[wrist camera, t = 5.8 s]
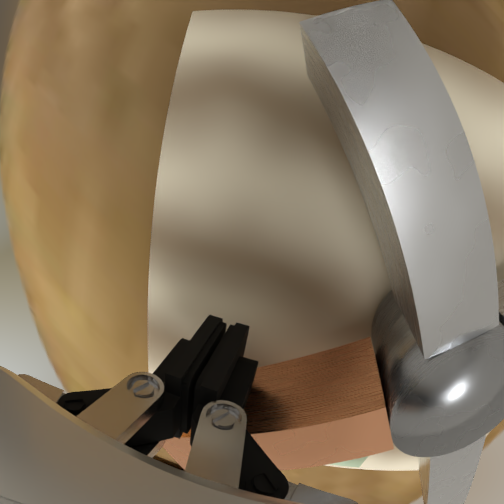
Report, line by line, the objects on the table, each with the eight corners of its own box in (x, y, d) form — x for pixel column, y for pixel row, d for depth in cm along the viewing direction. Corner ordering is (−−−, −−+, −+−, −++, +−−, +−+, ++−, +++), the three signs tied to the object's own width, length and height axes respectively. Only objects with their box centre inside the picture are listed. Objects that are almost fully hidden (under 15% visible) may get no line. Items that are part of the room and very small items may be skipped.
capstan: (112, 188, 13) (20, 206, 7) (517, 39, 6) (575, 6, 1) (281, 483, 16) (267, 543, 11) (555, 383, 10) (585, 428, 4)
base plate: (204, 23, 11) (191, 9, 10) (581, 156, 7) (597, 158, 6) (160, 403, 18) (150, 418, 17) (453, 454, 15) (457, 469, 13)
